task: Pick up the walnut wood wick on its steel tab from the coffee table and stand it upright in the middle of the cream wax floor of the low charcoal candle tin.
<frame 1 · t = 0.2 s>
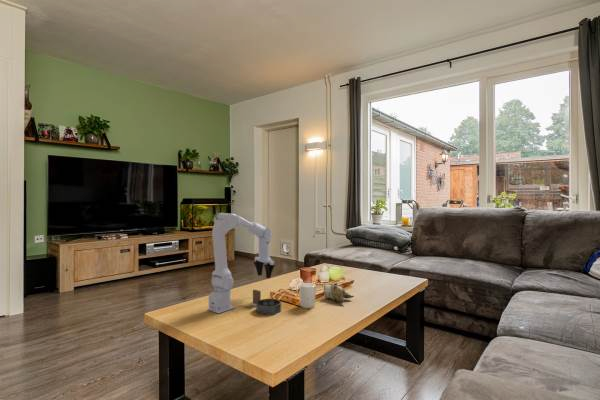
hand: (264, 276, 172), 10 cm above the table, fingers open, 7 cm apart
white cup: (307, 306, 157), on the table
wood wick: (256, 304, 159), on the table
candle tin: (268, 310, 151), on the table
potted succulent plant: (336, 300, 166), on the table
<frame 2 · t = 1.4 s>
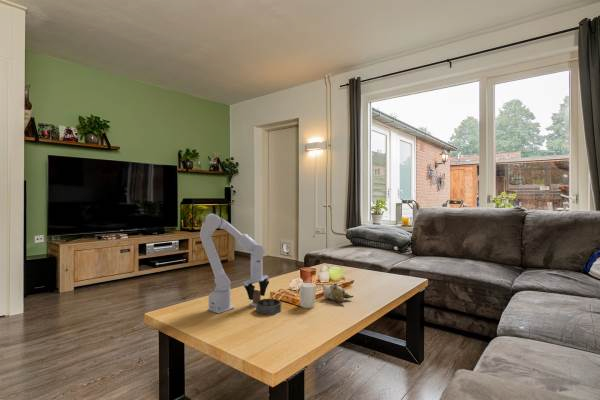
hand: (256, 297, 158), 3 cm above the table, fingers open, 7 cm apart
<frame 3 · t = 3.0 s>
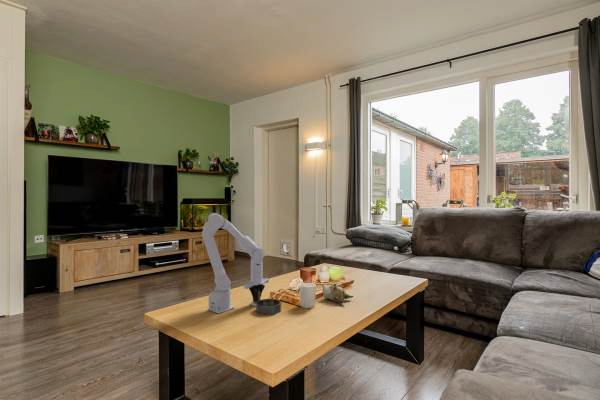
hand: (256, 300, 158), 2 cm above the table, fingers closed on wood wick
wood wick: (256, 304, 158), on the table, touching gripper
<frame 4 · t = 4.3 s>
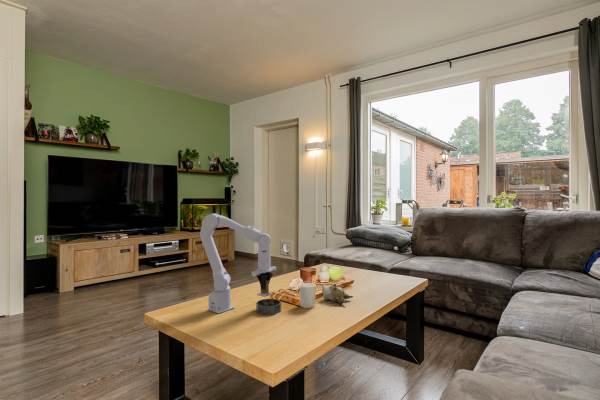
hand: (264, 288, 153), 9 cm above the table, fingers closed on wood wick
wood wick: (264, 294, 153), point 6 cm above the table, touching gripper
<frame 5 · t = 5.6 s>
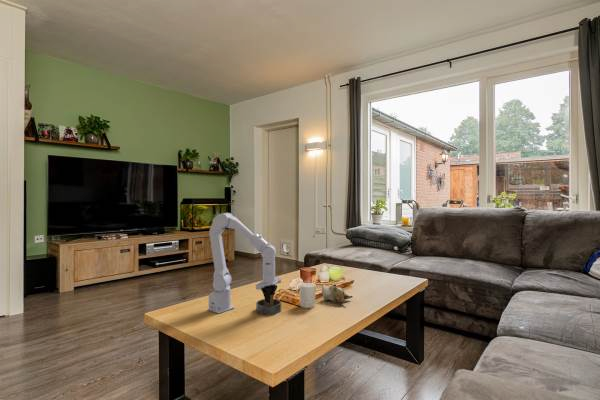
hand: (268, 301, 151), 4 cm above the table, fingers closed on wood wick
wood wick: (268, 309, 151), point 1 cm above the table, touching candle tin, gripper
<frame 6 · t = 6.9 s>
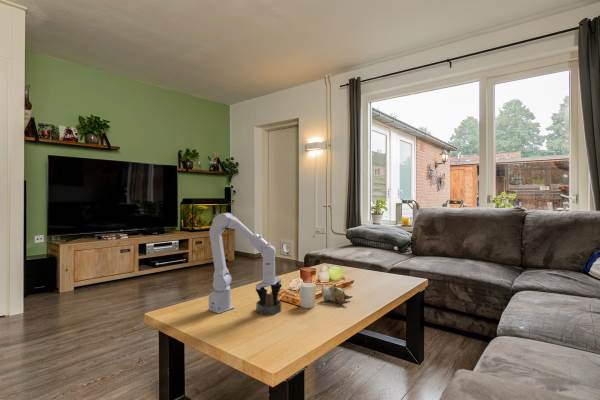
hand: (268, 301, 151), 4 cm above the table, fingers open, 7 cm apart
wood wick: (268, 309, 151), resting on candle tin
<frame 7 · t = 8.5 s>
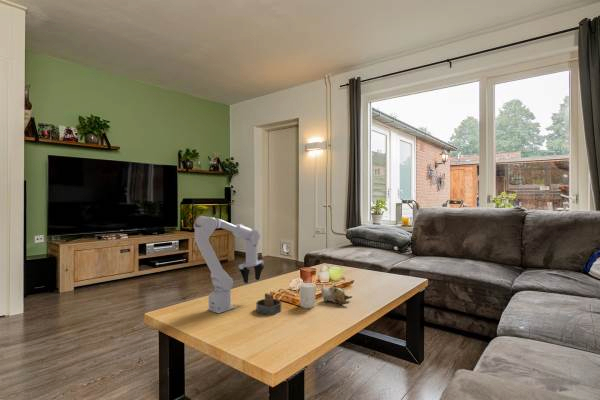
hand: (251, 281, 163), 10 cm above the table, fingers open, 7 cm apart
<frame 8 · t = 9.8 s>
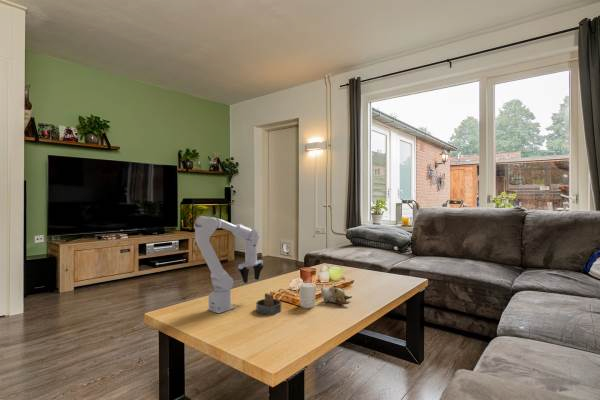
hand: (251, 280, 164), 10 cm above the table, fingers open, 7 cm apart
at the end: wood wick 0.0 cm off-centre on the candle tin, point 0.5 cm above the candle tin's base; wood wick tilted 0°; the gripper is holding nothing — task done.
